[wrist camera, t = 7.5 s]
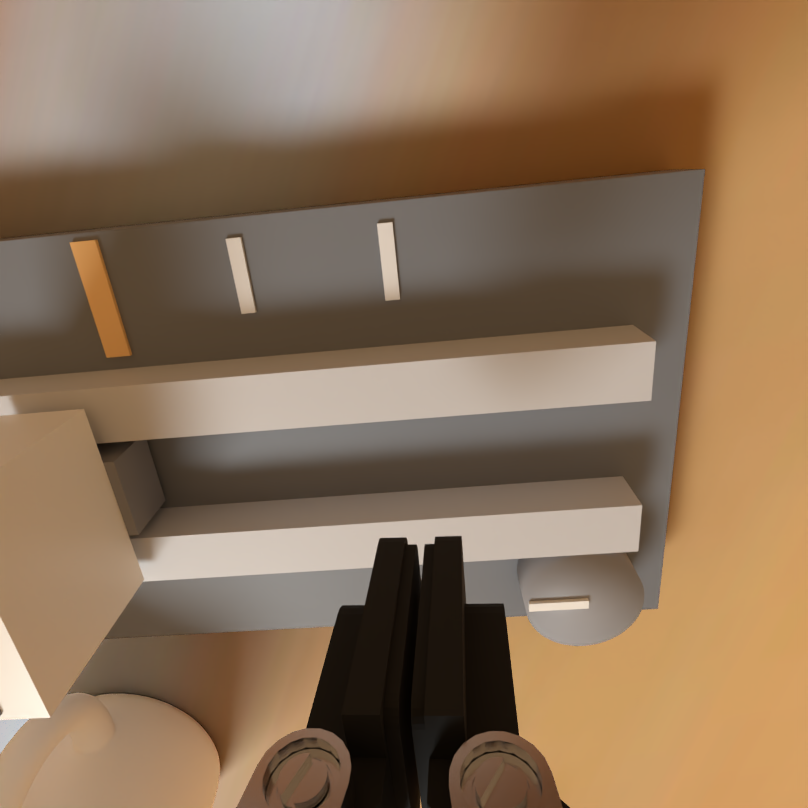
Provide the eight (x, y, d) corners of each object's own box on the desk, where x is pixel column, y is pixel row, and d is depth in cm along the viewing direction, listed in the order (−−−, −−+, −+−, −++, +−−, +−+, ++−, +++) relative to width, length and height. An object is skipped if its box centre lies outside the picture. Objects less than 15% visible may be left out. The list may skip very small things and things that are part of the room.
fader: (128, 383, 16) (-44, 507, 10) (178, 541, 18) (60, 720, 12) (30, 391, 16) (-198, 518, 10) (90, 547, 18) (-67, 726, 12)
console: (670, 169, 15) (743, 168, 12) (636, 569, 21) (680, 648, 17) (-70, 245, 17) (-196, 264, 13) (80, 602, 22) (18, 681, 19)
